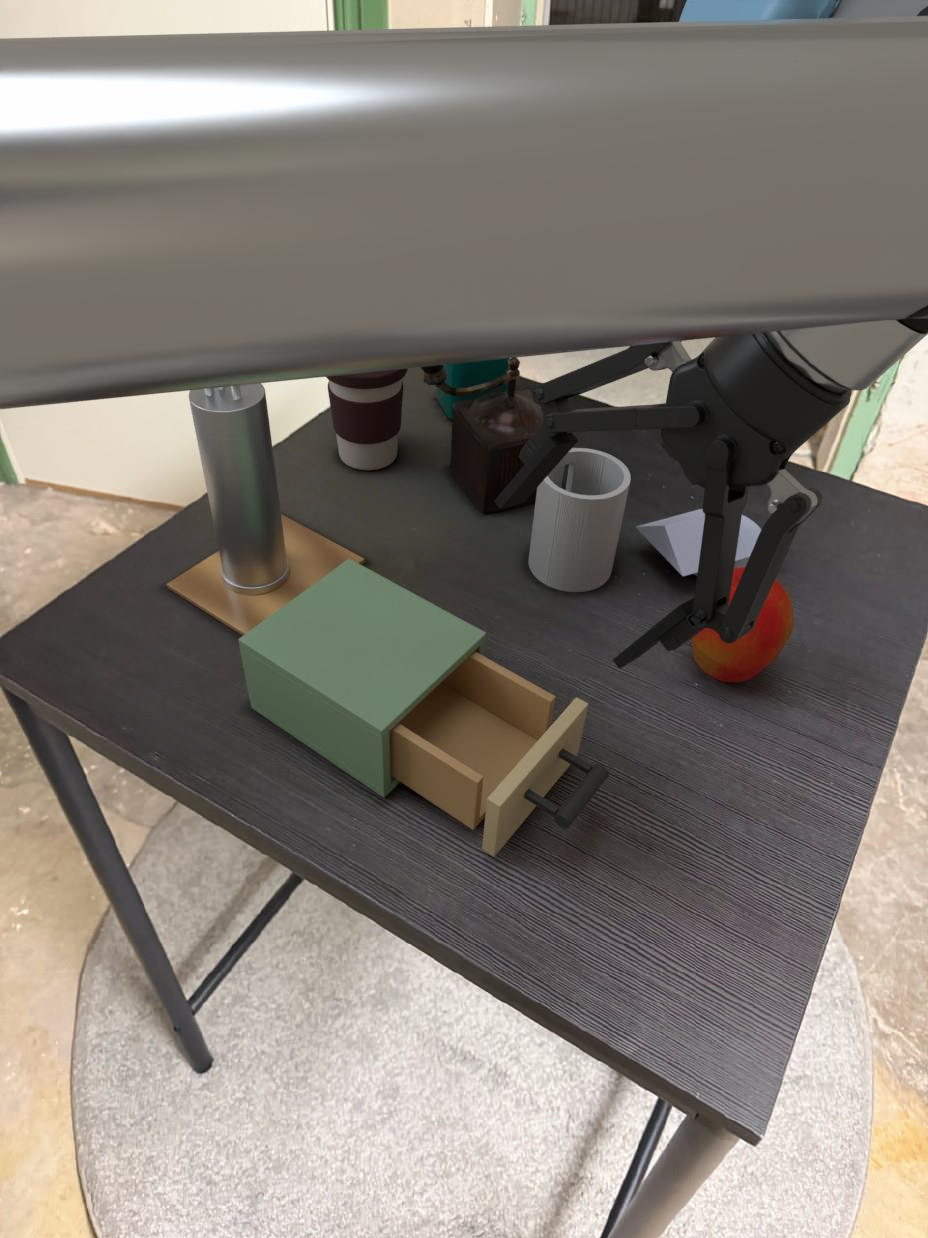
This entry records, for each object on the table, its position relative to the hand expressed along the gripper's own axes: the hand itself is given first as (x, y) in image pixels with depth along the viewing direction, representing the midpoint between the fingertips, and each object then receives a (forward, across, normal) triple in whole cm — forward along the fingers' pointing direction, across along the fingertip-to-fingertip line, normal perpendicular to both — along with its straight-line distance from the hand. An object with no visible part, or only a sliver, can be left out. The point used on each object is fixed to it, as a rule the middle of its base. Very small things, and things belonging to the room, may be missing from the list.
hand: (565, 578), depth 59 cm
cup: (+20, +8, -29) cm, 36 cm away
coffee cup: (+34, +35, -28) cm, 56 cm away
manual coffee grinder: (+26, +23, -33) cm, 48 cm away
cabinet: (+27, +5, -1) cm, 28 cm away
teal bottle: (+29, +37, -45) cm, 65 cm away
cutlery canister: (+35, +25, -4) cm, 43 cm away
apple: (+12, -11, -28) cm, 32 cm away
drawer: (+20, -7, -2) cm, 22 cm away
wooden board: (+35, +24, -6) cm, 43 cm away
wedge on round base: (+13, 0, -40) cm, 42 cm away
